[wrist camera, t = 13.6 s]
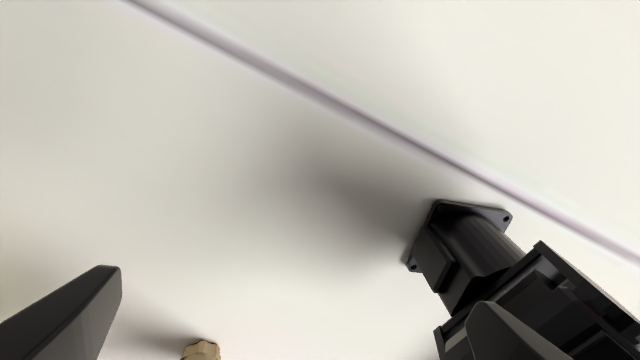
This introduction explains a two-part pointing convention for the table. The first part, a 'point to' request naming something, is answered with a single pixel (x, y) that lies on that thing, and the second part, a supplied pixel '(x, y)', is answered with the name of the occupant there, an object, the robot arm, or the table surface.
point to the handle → (201, 352)
